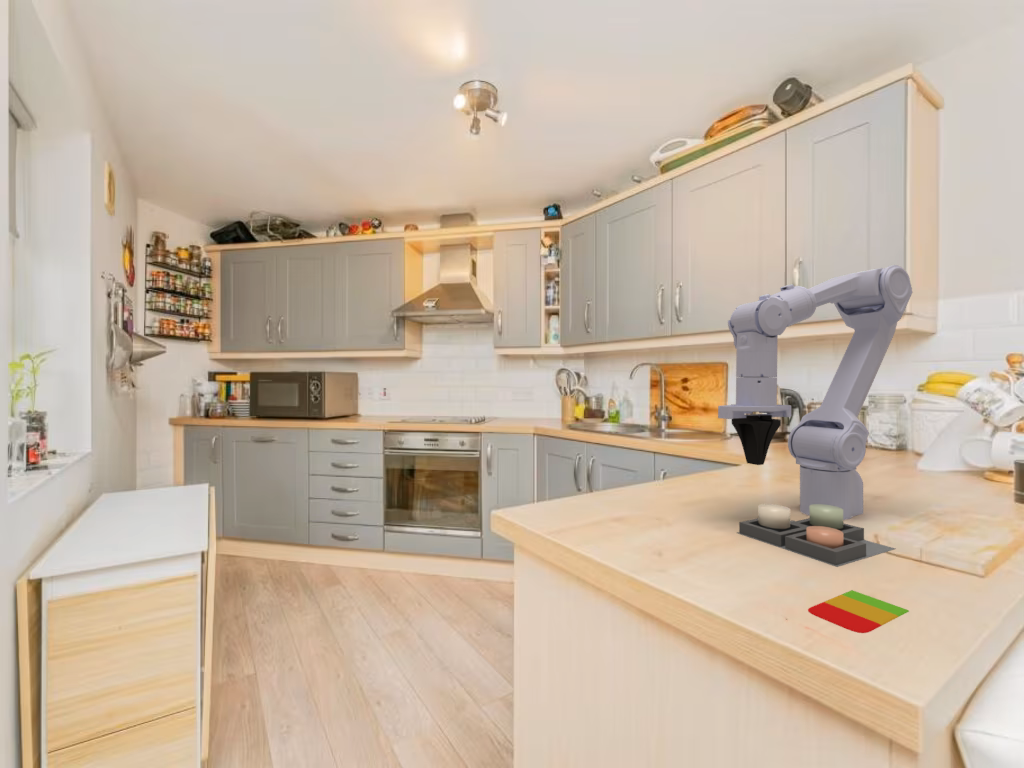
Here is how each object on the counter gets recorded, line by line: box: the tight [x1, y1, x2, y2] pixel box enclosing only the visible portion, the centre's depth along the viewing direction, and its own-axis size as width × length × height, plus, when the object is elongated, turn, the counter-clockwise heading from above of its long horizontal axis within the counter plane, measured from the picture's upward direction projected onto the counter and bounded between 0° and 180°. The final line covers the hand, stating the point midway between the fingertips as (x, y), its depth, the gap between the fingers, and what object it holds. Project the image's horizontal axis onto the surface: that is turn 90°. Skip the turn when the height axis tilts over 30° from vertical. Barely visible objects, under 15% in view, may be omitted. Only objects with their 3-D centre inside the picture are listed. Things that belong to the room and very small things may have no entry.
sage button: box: [809, 504, 844, 529], centre depth 67 cm, size 4×4×2 cm
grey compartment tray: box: [736, 517, 896, 568], centre depth 65 cm, size 13×14×3 cm
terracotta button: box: [806, 526, 844, 549], centre depth 61 cm, size 4×4×2 cm
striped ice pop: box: [807, 589, 910, 634], centre depth 47 cm, size 6×15×2 cm, turn 118°
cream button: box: [757, 503, 791, 529], centre depth 67 cm, size 4×4×2 cm
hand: (755, 463), depth 73 cm, fingers closed
